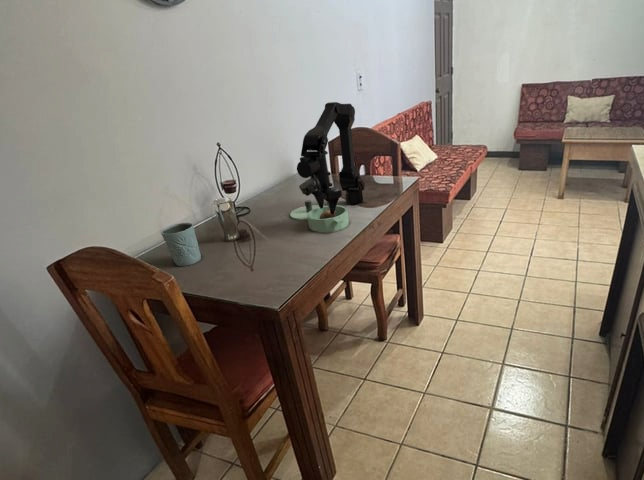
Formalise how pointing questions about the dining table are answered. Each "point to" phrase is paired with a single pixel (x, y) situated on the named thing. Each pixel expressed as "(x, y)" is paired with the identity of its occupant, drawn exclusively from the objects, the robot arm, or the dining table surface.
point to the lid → (303, 211)
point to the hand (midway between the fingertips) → (326, 211)
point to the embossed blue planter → (182, 243)
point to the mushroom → (327, 214)
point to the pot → (328, 220)
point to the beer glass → (227, 218)
